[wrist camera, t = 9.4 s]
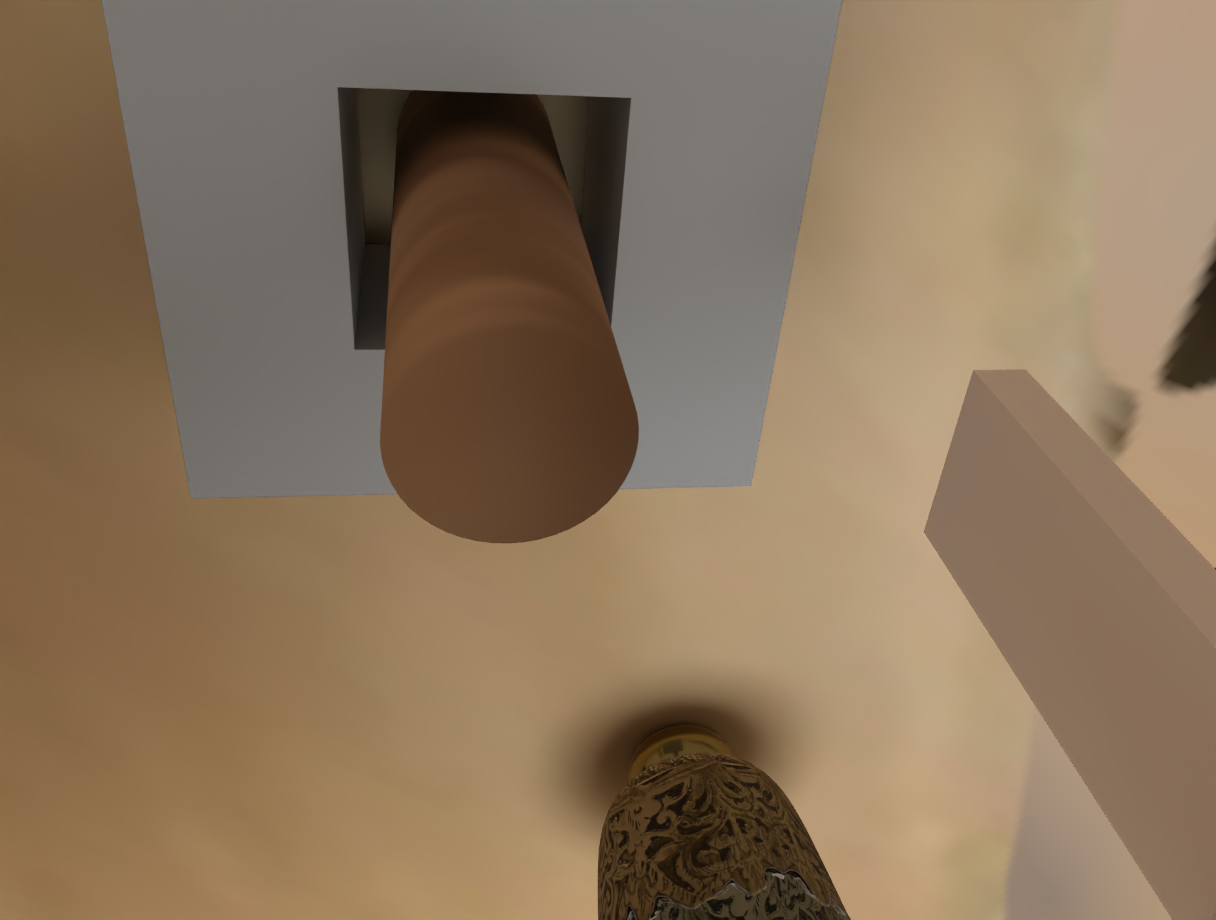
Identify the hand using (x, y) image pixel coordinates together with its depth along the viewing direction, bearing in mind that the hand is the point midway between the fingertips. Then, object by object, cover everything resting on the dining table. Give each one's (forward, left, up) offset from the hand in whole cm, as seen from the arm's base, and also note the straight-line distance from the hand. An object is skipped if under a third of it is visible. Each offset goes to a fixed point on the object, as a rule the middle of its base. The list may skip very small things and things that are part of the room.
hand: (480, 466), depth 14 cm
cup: (+7, -21, -13) cm, 26 cm away
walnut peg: (0, 0, -12) cm, 12 cm away
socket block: (0, 0, -12) cm, 12 cm away
